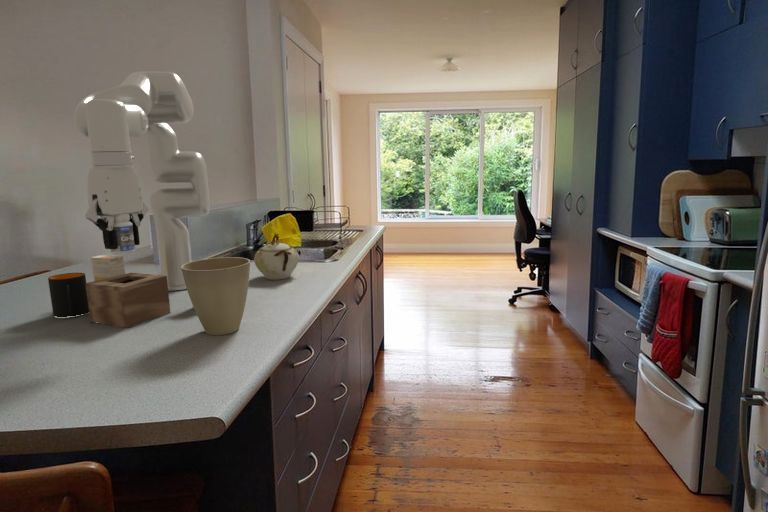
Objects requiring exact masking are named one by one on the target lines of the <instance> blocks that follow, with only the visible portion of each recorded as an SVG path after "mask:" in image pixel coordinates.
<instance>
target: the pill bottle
mask: <svg viewBox="0 0 768 512" xmlns="http://www.w3.org/2000/svg"><path fill="white" fill-rule="evenodd" d="M129 220H130V215H129V214H121V215H117V216H114V223H113V230H115V231H116V236H117V244H118V248H117V249H110V253H111V255H124V254H131V253H134V252H135V251H136V245H135V244H134V234H133V225H132V223H131V222H129Z"/></svg>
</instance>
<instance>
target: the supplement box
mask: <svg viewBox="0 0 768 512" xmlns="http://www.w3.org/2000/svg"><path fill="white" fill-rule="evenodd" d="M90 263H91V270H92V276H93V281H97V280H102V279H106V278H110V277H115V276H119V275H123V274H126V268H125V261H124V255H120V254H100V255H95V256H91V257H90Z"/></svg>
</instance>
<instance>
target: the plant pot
mask: <svg viewBox="0 0 768 512" xmlns="http://www.w3.org/2000/svg"><path fill="white" fill-rule="evenodd" d="M181 269H182V273H183V277H184V281H185V284H186V288H187V289H186V291H187V293H188V295H189V296H188V297H189V299H190V302H191V304H192V307H193V309H194V311H195V314H196V315H197V316H196V317H197V318H198V320H199V322H200V324H201V326H202V328H203V329H204V332H205V333H206V334H207V335H210V336H223V335H225V336H226V335H229V334H233V333H235V332H238V330H239V329H240V327H241V322H242V320H243V316H244V313H245V308H246V304H247V303H246V302H247V296H248V289H249V283H250V270H251V260H250V259H248V258H245V257H237V256H234V257H233V256H226V257H225V256H224V257H223V256H221V257H211V258H204V259H198V260H192V262H189V263H186V264H184V265H182V266H181Z"/></svg>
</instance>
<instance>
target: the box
mask: <svg viewBox="0 0 768 512" xmlns="http://www.w3.org/2000/svg"><path fill="white" fill-rule="evenodd" d="M85 284H86V291H87V298H88V306H89V313H88V314H89V320H90V323H91V322H98V323H103V324H102V325H105V324H108V325H107V326H111V325H115V326H114V327H118V326H120V328H125V327H126V328H127V329H128V327H129V328H131V327H135V326H137V324H138V325H140V324H143V323H146V322H148V321H151V320H154V319H158V318H161V317H163V316H166V315H169V314H171V304H170V297H169V296H170V294H169V291H168V284H167V276H163V275H157V274H152V273H151V274H150V273H140V272H139V273H138V272H128V273H125V274H123V275H119V276H115V277H110V278H106V279H102V280H97V281H94V280H93V281H89V282H86V283H85ZM98 323H97V324H98ZM126 328H125V329H126Z"/></svg>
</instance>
